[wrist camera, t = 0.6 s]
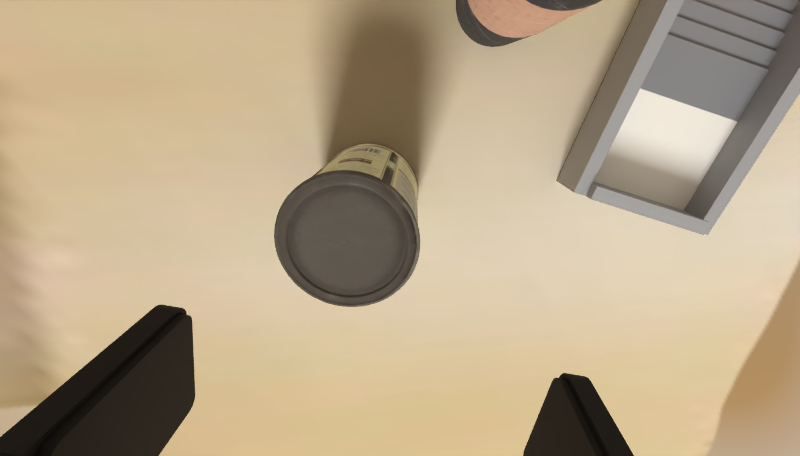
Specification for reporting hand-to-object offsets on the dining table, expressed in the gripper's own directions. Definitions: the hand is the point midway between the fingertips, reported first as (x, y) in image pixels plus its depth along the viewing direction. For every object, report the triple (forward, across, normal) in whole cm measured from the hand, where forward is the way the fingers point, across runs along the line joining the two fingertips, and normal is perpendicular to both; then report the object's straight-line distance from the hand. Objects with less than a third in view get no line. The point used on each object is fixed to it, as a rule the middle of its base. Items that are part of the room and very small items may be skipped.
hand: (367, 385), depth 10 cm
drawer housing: (+31, -24, -11) cm, 40 cm away
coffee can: (+31, +3, +4) cm, 31 cm away
